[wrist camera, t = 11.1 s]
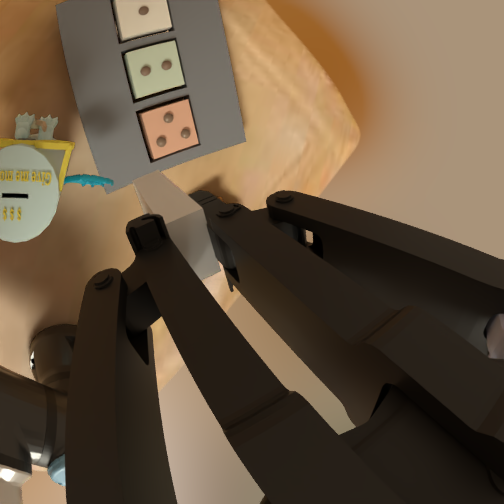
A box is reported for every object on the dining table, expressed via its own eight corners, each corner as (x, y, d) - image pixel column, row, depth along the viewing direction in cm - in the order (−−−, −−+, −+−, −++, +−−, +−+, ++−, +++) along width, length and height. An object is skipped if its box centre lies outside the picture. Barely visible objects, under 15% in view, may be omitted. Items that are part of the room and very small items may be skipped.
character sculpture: (118, 118, 32) (133, 122, 22) (103, 204, 36) (113, 246, 26) (-22, 111, 21) (-67, 116, 11) (-29, 199, 25) (-67, 241, 15)
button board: (105, 189, 36) (106, 194, 34) (57, 11, 21) (55, 5, 19) (237, 139, 42) (246, 141, 40) (204, -23, 27) (211, -29, 25)
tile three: (149, 155, 37) (154, 159, 34) (137, 113, 33) (141, 113, 31) (191, 140, 38) (199, 143, 36) (181, 99, 35) (188, 99, 33)
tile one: (120, 43, 27) (123, 37, 25) (112, 4, 24) (115, -4, 21) (165, 31, 29) (172, 25, 27) (157, -6, 26) (164, -14, 23)
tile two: (133, 99, 32) (137, 98, 29) (123, 57, 29) (126, 52, 26) (177, 85, 34) (185, 84, 31) (168, 45, 30) (175, 40, 28)
